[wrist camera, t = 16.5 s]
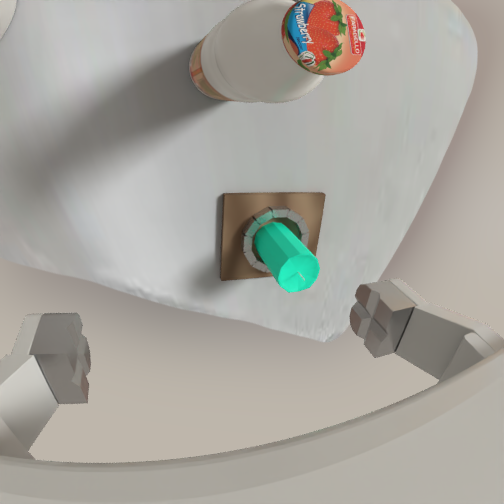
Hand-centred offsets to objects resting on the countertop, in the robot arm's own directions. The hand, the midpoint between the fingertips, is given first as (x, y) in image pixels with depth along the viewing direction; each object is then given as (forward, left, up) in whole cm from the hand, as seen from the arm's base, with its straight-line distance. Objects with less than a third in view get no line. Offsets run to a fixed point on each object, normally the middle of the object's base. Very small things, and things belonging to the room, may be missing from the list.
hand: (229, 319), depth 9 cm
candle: (+16, -15, -36) cm, 43 cm away
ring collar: (+16, -15, -37) cm, 43 cm away
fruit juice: (+7, +10, -37) cm, 39 cm away
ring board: (+16, -15, -37) cm, 43 cm away
